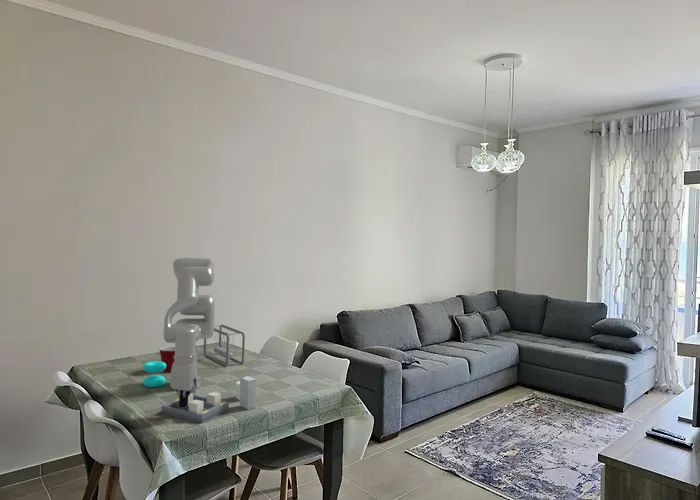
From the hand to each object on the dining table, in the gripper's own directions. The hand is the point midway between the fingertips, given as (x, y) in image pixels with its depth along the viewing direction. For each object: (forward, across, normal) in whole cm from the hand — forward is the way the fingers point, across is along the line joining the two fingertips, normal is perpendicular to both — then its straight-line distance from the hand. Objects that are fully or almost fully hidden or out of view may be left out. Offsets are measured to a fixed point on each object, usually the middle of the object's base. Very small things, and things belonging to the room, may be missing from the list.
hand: (183, 405), depth 185 cm
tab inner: (+2, +6, +10) cm, 12 cm away
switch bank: (+4, +2, +5) cm, 6 cm away
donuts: (+4, -37, +22) cm, 44 cm away
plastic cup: (+4, -47, +43) cm, 63 cm away
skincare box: (+4, +17, +19) cm, 26 cm away
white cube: (+2, +6, 0) cm, 7 cm away
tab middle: (+2, -3, +5) cm, 6 cm away
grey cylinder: (+4, +9, +27) cm, 29 cm away
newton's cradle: (+4, -37, +74) cm, 83 cm away
